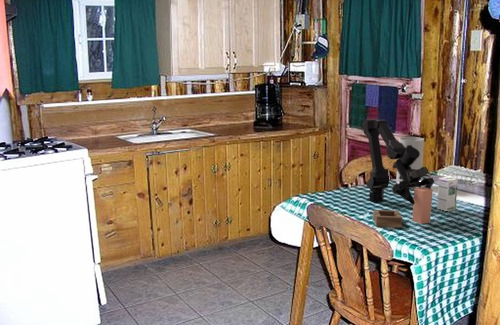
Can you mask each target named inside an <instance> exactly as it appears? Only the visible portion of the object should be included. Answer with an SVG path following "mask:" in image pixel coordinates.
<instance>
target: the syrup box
mask: <svg viewBox="0 0 500 325" xmlns="http://www.w3.org/2000/svg"><path fill="white" fill-rule="evenodd" d="M458 180H459V179H458V178H456V177H453V176H443V177H439V178H438V187H437V201H436V202H437V203H436V204H437V205H436V209H437V210H439V209H441V210H440V211H442V210H444V211H443V212H445V211H448V212H451V211H452V210H453V211H456V209H457V195H458V183H459V182H458Z"/></svg>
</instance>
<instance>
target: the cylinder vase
mask: <svg viewBox="0 0 500 325" xmlns="http://www.w3.org/2000/svg"><path fill="white" fill-rule="evenodd" d="M398 142H400V143H402V144H403V145H404V147H405V148H406V147H407V145H412V147H414V148H416V149H417V150H418V151H419V153H420V155H419V157H418V158H417V159H416V161H415V162H414V163H413V164H412V165H410V166H411V168H412V169H415V170H417V169H420V168H422V167H423V160H424V147H425V146H424V145H425V138H422V137H417V136H401V137H399V138H398ZM399 177H400V174H399V172H398V171H397V170H396V181H395V184H396V183H397V182H399V181H403V180H402V179H399ZM419 181H420V180H419ZM414 188H416V187H412V188H411V189H414Z"/></svg>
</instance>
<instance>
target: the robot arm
mask: <svg viewBox="0 0 500 325" xmlns="http://www.w3.org/2000/svg"><path fill="white" fill-rule="evenodd" d="M361 128H362V131H363V134H364V136H366V137H367V140H368V146H369V153H370V160H371V166H372V168H371V171H370V173H369V177H370V178H369V179H368V180H367V181H366V187H367V189H369V196H368V197H369V198H366V200H367V201H371V202H374V203H383V202H385V201H387V199H386V198H384V197H385V195H384V194H385V189H388V187H389V184H390V181H391V180H390V173H389V169H388V168H385V167H384V163H383V157H382V156H383V155H382V151H381V142H380V136H381V138H382V141H383V142H384V144H385V146H386V149H385V150H386V154H387V156H388V158H389V160H393V161H394V160H396V161H394V162H393V164H392V169H396V172H397V171H398V172H399V174H400V177H399V179H402V180H403V181H399V182H397V183H396V182H395V184H394V185H393V186H392V188H391V190H392V193H393V194H394V195H397V196H400V197H401V198H403V199H404V200H406V201H407V202H409V203H410V204H411V205H412V206H413V205H414V204H415V202H414V196H412V193H411V192H410V189H413V188H412V187H418V188H420V187H426V188H429V189H432V186H433V185H434V184H435V179H434V178H433V177H429V176H428V177H427V175H428V174H429V173H430V172H429V169H428V168H427V166H422V168H420V169H417V170H415V169H412V168H411V166H410V165H412V164H413V163H414V162H415V161H416V159H417V158H418V157H419V155H420V153H419V151H418V150H417V149H416V148H414V147H412V145H407V147H406V148H405V147H404V145H403V144H402V143H400V142H399V140H397V139H396V137H395V135H394V133H393V132H392V130H391V129H390V126H389V125H388V121H387V120H386V119H379V118H365V119H364V120H363V122H362V123H361ZM422 178H423V179H422ZM419 180H421V182H419Z"/></svg>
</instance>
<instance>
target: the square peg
mask: <svg viewBox="0 0 500 325" xmlns="http://www.w3.org/2000/svg"><path fill="white" fill-rule="evenodd" d="M413 189H414V192H413V199H414V202H415V204H414V205H413V204H412V206H413V207H412V222H415V223H418V224H420V225H423V224H424V225H425V224H429V223H431V215H432V214H431V213H432V201H433V189H432V188H431V189H429V188H426V187H420V188H419V187H418V188H413Z"/></svg>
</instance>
